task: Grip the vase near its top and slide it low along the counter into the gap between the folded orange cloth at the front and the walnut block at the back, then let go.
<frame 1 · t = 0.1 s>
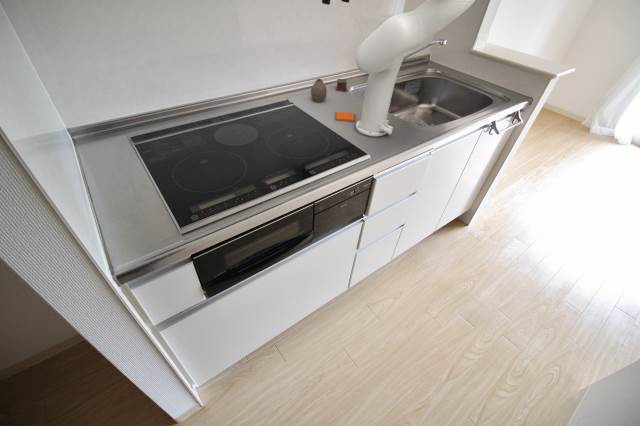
hand: (335, 2, 98), 37 cm above the worktop, tool pointing down, fingers open, 9 cm apart
walnut block: (341, 89, 139), on the worktop
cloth: (345, 117, 118), on the worktop
vase: (318, 100, 128), on the worktop
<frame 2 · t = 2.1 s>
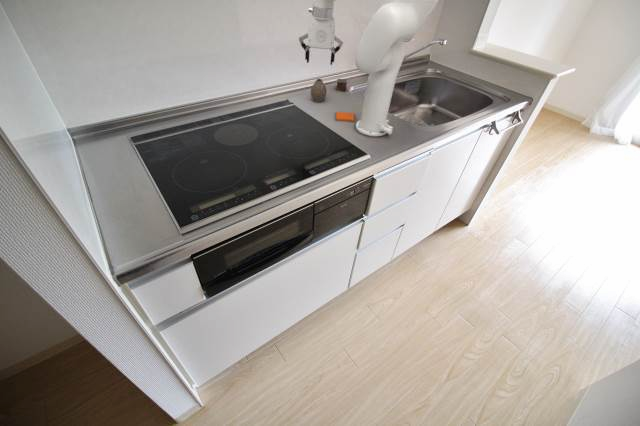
hand: (319, 62, 118), 15 cm above the worktop, tool pointing down, fingers open, 9 cm apart
nothing on the worktop moved.
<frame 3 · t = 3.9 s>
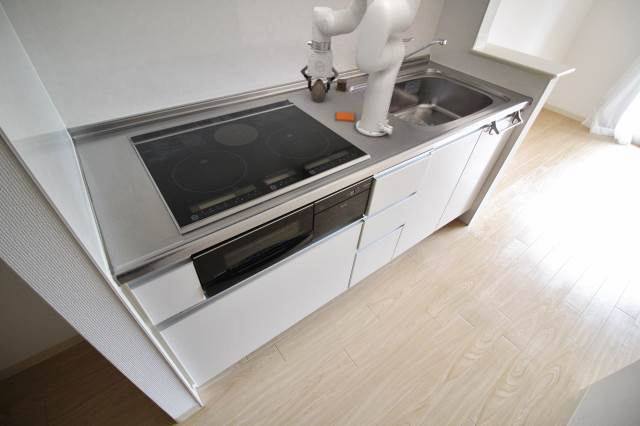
hand: (318, 90, 125), 4 cm above the worktop, tool pointing down, fingers closed on vase, 6 cm apart
vase: (318, 100, 128), on the worktop, touching gripper
everything else where it was.
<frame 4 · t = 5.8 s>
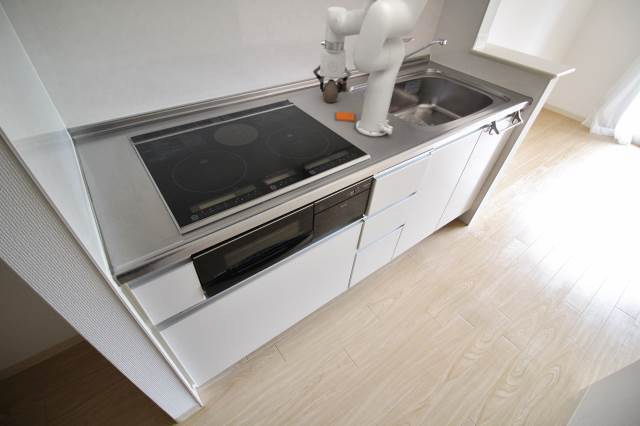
hand: (330, 91, 125), 5 cm above the worktop, tool pointing down, fingers closed on vase, 6 cm apart
vase: (330, 101, 128), on the worktop, touching gripper
everything else where it was.
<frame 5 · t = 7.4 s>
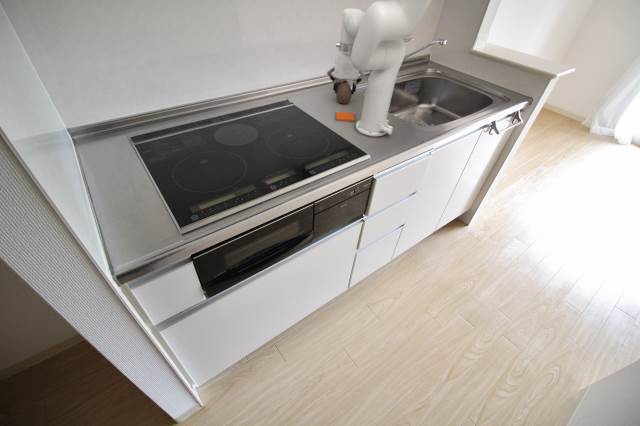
hand: (344, 92, 125), 4 cm above the worktop, tool pointing down, fingers closed on vase, 6 cm apart
vase: (342, 102, 128), on the worktop, touching gripper
everything else where it was.
when the fingers open (4 cm above the worktop, at t = 8.0 s): vase stays where it is, on the worktop.
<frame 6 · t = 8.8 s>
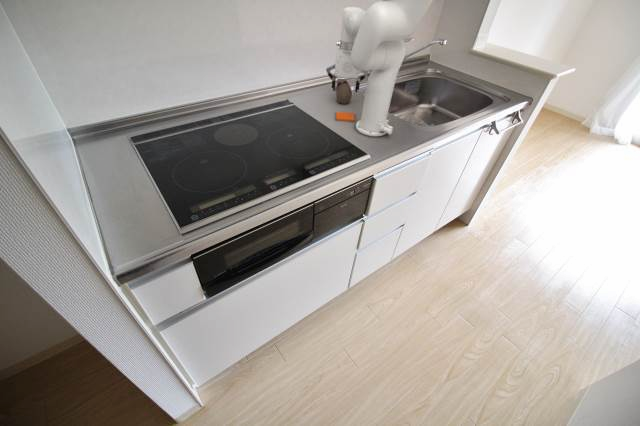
hand: (344, 90, 124), 5 cm above the worktop, tool pointing down, fingers open, 9 cm apart
vase: (342, 102, 128), on the worktop
everything else where it was.
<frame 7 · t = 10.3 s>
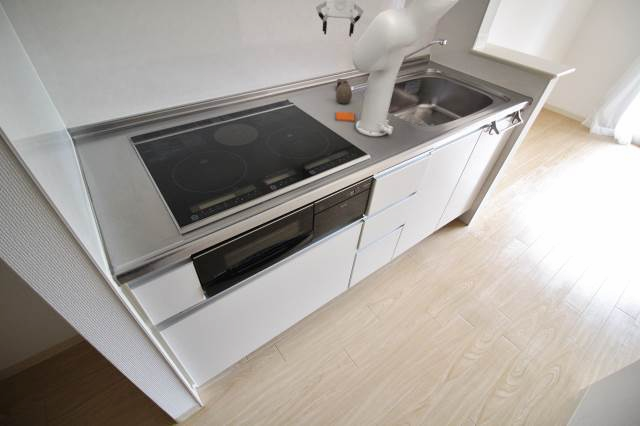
hand: (337, 34, 110), 26 cm above the worktop, tool pointing down, fingers open, 9 cm apart
nothing on the worktop moved.
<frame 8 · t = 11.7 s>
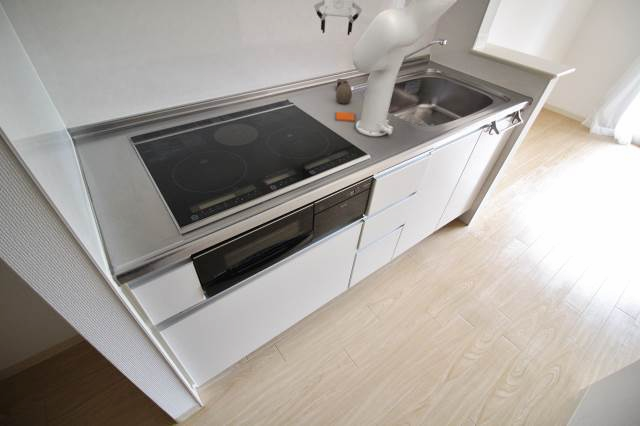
hand: (335, 33, 110), 26 cm above the worktop, tool pointing down, fingers open, 9 cm apart
nothing on the worktop moved.
at the end: vase 0.0 cm from the target spot on the worktop beside the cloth, on the worktop; vase tilted 0°; walnut block moved 0.0 cm from its start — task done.
